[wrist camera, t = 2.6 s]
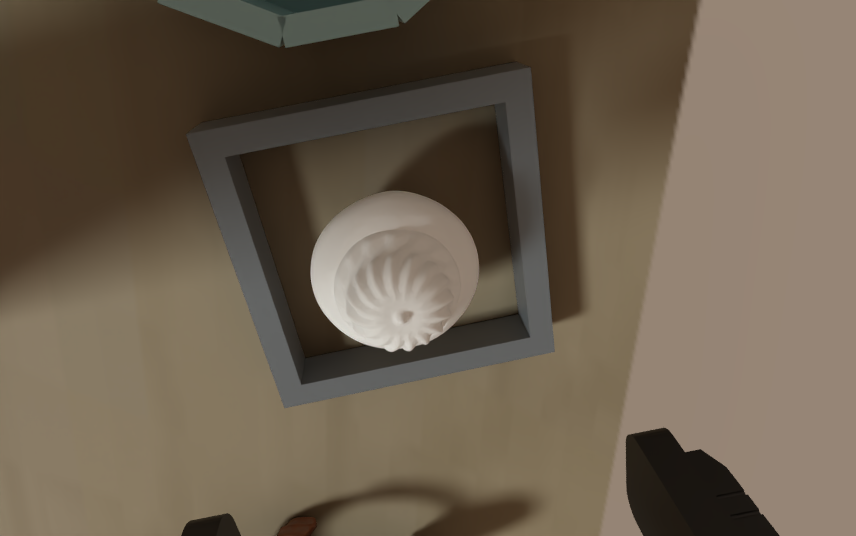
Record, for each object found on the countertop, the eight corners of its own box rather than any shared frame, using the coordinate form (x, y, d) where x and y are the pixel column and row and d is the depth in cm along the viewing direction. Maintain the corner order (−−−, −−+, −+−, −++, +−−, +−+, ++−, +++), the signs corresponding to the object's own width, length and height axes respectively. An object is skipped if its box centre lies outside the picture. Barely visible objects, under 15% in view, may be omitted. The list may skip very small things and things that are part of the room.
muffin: (460, 298, 25) (493, 396, 19) (322, 304, 25) (309, 408, 18) (465, 163, 23) (506, 225, 16) (311, 166, 22) (292, 232, 16)
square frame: (289, 380, 26) (284, 408, 24) (200, 122, 21) (185, 134, 19) (541, 327, 26) (554, 351, 25) (516, 61, 21) (530, 67, 19)
